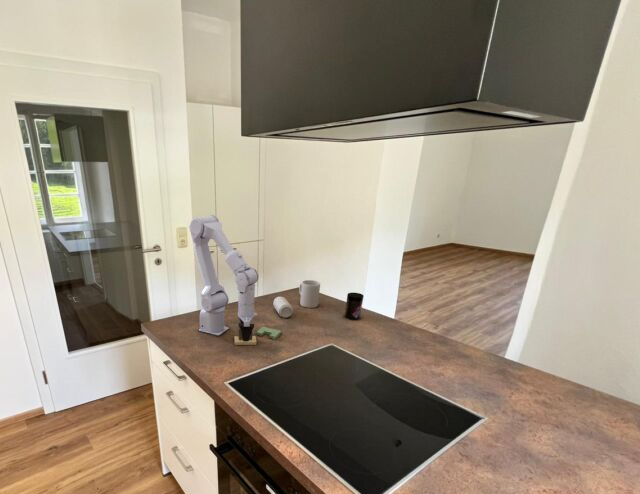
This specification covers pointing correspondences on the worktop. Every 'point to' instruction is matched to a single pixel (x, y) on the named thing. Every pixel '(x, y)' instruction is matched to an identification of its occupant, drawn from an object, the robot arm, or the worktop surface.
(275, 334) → the notch pad
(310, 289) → the mug
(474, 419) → the worktop surface
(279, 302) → the beverage can
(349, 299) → the supplement container
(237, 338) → the tab pad
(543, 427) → the worktop surface
